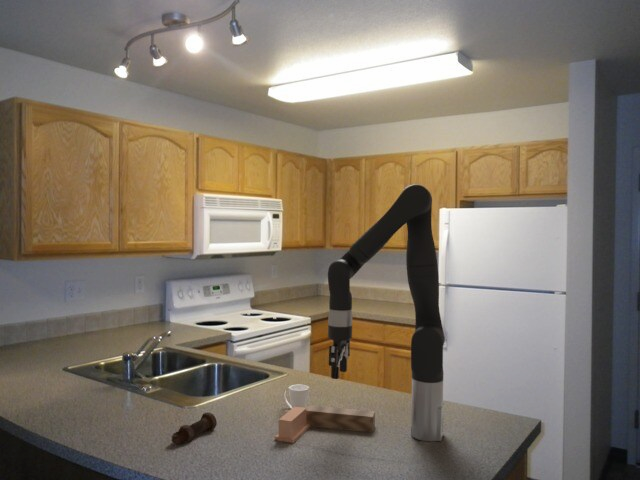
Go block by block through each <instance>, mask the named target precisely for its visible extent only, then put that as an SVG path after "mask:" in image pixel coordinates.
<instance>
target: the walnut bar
mask: <svg viewBox="0 0 640 480" xmlns="http://www.w3.org/2000/svg"><path fill="white" fill-rule="evenodd" d="M305 408H306V423H307V424H310V427H318V428H327V429H328V428H329V429H337V430H346V431H347V430H349V431H357V432H365V433H374V429H375V427H376V422H375V421H376V411H375V410H374V411H373V410H364V409H363V410H362V409H355V408H354V409H351V408H342V407H330V406H322V405H321V406H320V405H308V404H306V407H305Z"/></svg>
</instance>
